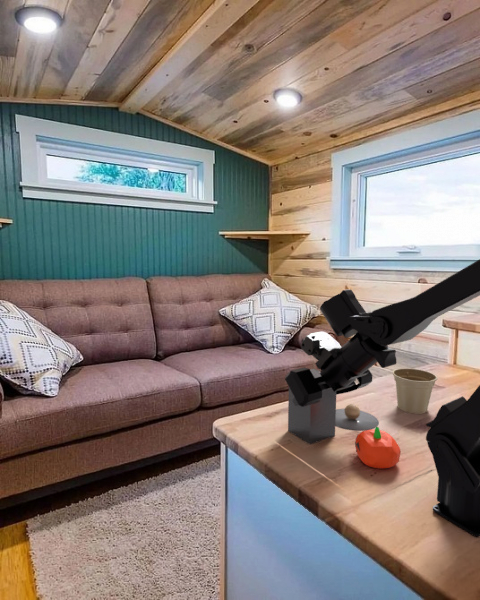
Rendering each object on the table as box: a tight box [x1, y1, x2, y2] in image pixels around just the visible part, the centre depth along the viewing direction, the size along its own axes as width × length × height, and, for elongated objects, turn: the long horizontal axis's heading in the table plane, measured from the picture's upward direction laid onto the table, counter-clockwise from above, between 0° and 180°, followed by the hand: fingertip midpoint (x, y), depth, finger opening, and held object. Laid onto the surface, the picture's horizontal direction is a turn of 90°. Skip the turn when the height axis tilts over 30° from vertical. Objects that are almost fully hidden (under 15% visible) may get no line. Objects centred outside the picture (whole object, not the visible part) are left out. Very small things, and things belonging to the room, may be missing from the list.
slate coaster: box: [335, 408, 380, 432], centre depth 86 cm, size 11×11×1 cm
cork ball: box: [344, 403, 361, 420], centre depth 86 cm, size 3×3×3 cm
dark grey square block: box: [287, 368, 337, 445], centre depth 79 cm, size 6×6×12 cm
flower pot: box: [392, 367, 438, 415], centre depth 92 cm, size 9×9×9 cm
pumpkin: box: [354, 426, 402, 470], centre depth 69 cm, size 7×8×6 cm
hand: (307, 399), depth 80 cm, fingers closed on dark grey square block, 7 cm apart
